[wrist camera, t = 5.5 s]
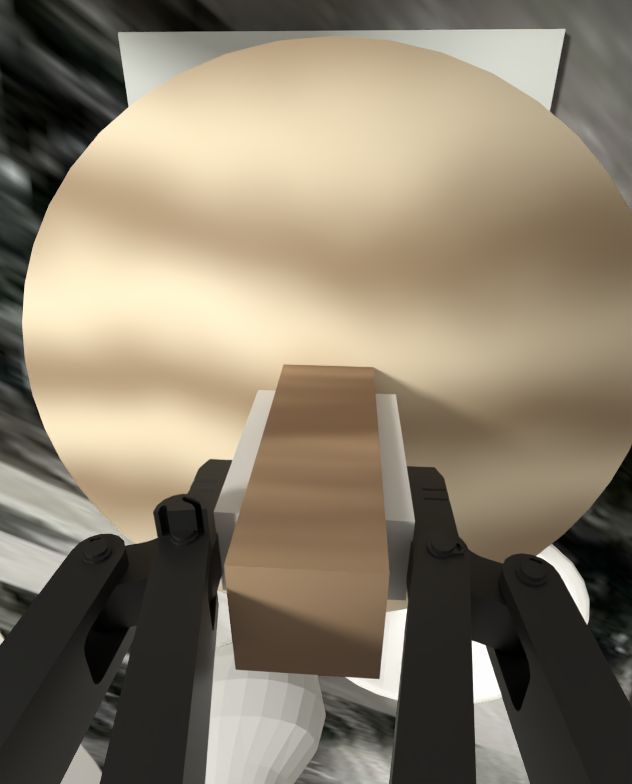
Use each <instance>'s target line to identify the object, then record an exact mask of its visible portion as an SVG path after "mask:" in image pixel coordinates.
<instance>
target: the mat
mask: <svg viewBox="0 0 632 784" xmlns="http://www.w3.org/2000/svg"><path fill="white" fill-rule="evenodd" d="M564 34H565V29H499V30H360V31H222V32H118V38H119V44H120V51H121V58H122V65H123V71H124V78H125V85H126V91H127V98H128V105H129V107H130V106H131V105H132V104H133V103H134V102H135V101H136V100H138V99H140V98H141V97H143V96H144V95H146V94H148V93H149V92H151V91H152V90H154V89H155V88H157V87H159V86H160V85H162V84H163V83H165V82H167V81H168V80H170V79H171V78H173V77H175V76H176V75H178V74H180V73H182V72H184V71H187V70H189V69H191V68H194V67H196V66H198V65H201V64H203V63H205V62H208V61H210V60H212V59H215V58H217V57H220V56H222V55H224V54H227V53H231V52H235V51H239V50H243V49H247V48H251V47H255V46H259V45H263V44H267V43H271V42H275V41H279V40H291V39H302V38H314V37H326V36H342V37H356V38H370V39H384V40H391V41H396V42H400V43H404V44H408V45H413V46H417V47H421V48H425V49H430V50H434V51H438V52H442V53H445V54H447V55H450V56H452V57H454V58H457V59H459V60H462V61H464V62H467V63H469V64H471V65H474V66H476V67H479V68H481V69H484V70H486V71H488V72H491V73H493V74H495V75H496V76H498V77H500V78H501V79H503V80H504V81H506V82H508V83H509V84H511V85H513V86H514V87H516V88H517V89H519V90H521V91H522V92H524V93H526V94H527V95H529V96H530V97H532V98H534V99H535V100H537V101H538V102H540V103H541V104H542V105H543V106H544V107H545V108H546V109H548V110H549V111H550V108H551V102H552V97H553V92H554V87H555V81H556V76H557V71H558V66H559V60H560V55H561V50H562V45H563V39H564Z"/></svg>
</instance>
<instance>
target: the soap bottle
mask: <svg viewBox="0 0 632 784" xmlns="http://www.w3.org/2000/svg"><path fill="white" fill-rule="evenodd" d="M325 717H326V714H325V709H324V704H323V698H322V693H321V688H320V683H319V678H318V675H308V674H292V673H277V672H262V671H247V670H236V669H235V660H234V651H233V643H231V644H228V645H225V646H222V647H220V648H219V649H217V650H215V658H214V671H213V685H212V698H211V711H210V725H209V738H208V751H207V765H206V778H205V784H294V783H295V781H296V780H297V778H298V777H299V776H300V774H301V773H302V771H303V770H304V768H305V767H306V766H307V764H308V763H309V761H310V760H311V759H312V757H313V756H314V754H315V752H316V751H317V748H318V744H319V740H320V736H321V732H322V728H323V725H324V721H325Z"/></svg>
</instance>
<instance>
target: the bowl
mask: <svg viewBox="0 0 632 784" xmlns="http://www.w3.org/2000/svg"><path fill="white" fill-rule="evenodd" d="M537 557H539V558H542V559H544V560H545V561H547V562H548V563H550V564H551V565H552V566H554V568H555V569H556V570H557V571H558V573H559V574H560V576H561V578H562V579H563V581H564V583H565V585H566V587H567V589H568V591H569V592H570V594H571V596H572V598H573V600H574V602H575V603H576V605H577V607H578V609H579V611H580V613H581V615H582V616H583V618H584V620H585V622H586V624H588V621H589V601H590V599H589V596H588V593H587V589H586V586H585V582H584V580H583V578H582V577H581V575H580V574H579V572H578V571H577V569H576V567H575V566H574V564H573V563H572V562H571V561H570V560H569V559H568V558H567V557H566V556H565V555H564V554H562V553H561V552H560V551H559V550H558V549H557V548H556V547H555V546H554V545H553V544H551V545H550V546H548V547H547V548H546V549H544V550H543V551H542V552H541V553H539V554H538V555H537ZM406 614H407V609H403V610H397V611H391V612H386V617H385V628H384V638H383V649H382V659H381V669H380V679H369V678H354V677H346V678H347V679H349V680H350V681H352V682H353V683H355V684H356V685H358V686H360V687H362V688H364V689H367V690H369V691H371V692H373V693H375V694H378V695H381V696H384V697H388V698H391V699H394V700H398V693H399V683H400V673H401V663H402V653H403V644H404V631H405V623H406ZM472 662H473V695H474V704H475V703H480V702H486V701H491V700H496V699H499V698H502V695H501V692H500V689H499V686H498V683H497V680H496V677H495V674H494V671H493V667H492V664H491V661H490V658H489V655H488V652H487V649H486V645H483V644H480V643H477V642H475V641H472Z"/></svg>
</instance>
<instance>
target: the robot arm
mask: <svg viewBox="0 0 632 784" xmlns="http://www.w3.org/2000/svg"><path fill="white" fill-rule="evenodd" d="M275 391H276V390H258V391H257V394H256V397H255V400H254V402H253V405H252V408H251V411H250V413H249V416H248V419H247V422H246V424H245V427H244V430H243V433H242V435H241V438H240V441H239V444H238V446H237V449H236V452H235V455H234V457H233V460H221V459H209V460H208V461H207V462H206V463H205V464H203V465H202V466H201V467H200V468H199V469H198V471H197V474H196V476H195V478H194V482H192V485H191V487H190V491H188V493H187V494H179V495H173V496H171V497H169V498H166V499H164V500H163V501H162V502H160V503H159V504H158V505H157V506H156V508H155V509H154V511H153V515H154V520H155V526H156V531H157V537H158V538H156V539H153V540H151V541H147V542H143V543H138V544H133V545H127V546H125V544H124V541H123V540H122V539H121V538H120V537H119V536H116V535H113V534H99V535H96V536H92V537H89V538H87V539H85V540H84V541H82V542H80V543H79V544H78V545H77V546H76V547H75V548H74V549H73V550H72V551H71V552H70V554H69V555H68V556H67V558H66V559H65V560H64V561H63V563H62V564H61V565H60V567H59V568H58V569H57V571H56V572H55V573H54V575H53V576H52V577H51V579H50V580H49V581H48V583H47V584H46V585H45V587H44V588H43V589H42V591H41V592H40V593H39V595H38V596H37V597H36V599H35V600H34V601H33V602H32V604H31V605H30V606H29V608H28V609H27V610H26V612H25V613H24V614H23V616H22V617H21V618H20V620H19V621H18V622H17V624H16V625H15V626H14V628H13V629H12V630H11V632H10V633H9V634H8V636H7V637H6V638H5V640H4V641H3V643H2V644H1V645H0V784H60V783H61V781H62V779H63V777H64V775H65V773H66V771H67V769H68V767H69V765H70V763H71V761H72V759H73V757H74V755H75V753H76V752H77V750H78V747H79V746H80V744H81V742H82V740H83V738H84V736H85V734H86V732H87V730H88V728H89V726H90V724H91V722H92V720H93V718H94V716H95V714H96V712H97V710H98V708H99V706H100V704H101V702H102V700H103V698H104V696H105V694H106V692H107V690H108V688H109V686H110V684H111V682H112V680H113V678H114V676H115V674H116V672H117V671H118V669H119V667H120V665H121V663H122V661H123V659H124V657H125V655H126V653H127V651H128V649H129V647H130V645H131V643H132V641H133V644H132V649H131V653H130V657H129V661H128V666H127V670H126V674H125V678H124V683H123V687H122V691H121V695H120V700H119V704H118V708H117V712H116V717H115V721H114V725H113V729H112V734H111V738H110V742H109V747H108V751H107V755H106V759H105V764H104V768H103V772H102V776H101V781H100V784H205V778H206V765H207V751H208V738H209V725H210V711H211V698H212V685H213V671H214V658H215V645H216V631H217V618H218V605H219V604H218V596H217V590H218V587H219V583H220V580H222V588H223V590H227V588H226V579H225V570H224V563H225V560H226V557H227V553H228V550H229V547H230V543H231V540H232V536H233V533H234V530H235V526H236V523H237V520H238V516H239V513H240V509H241V506H242V503H243V499H244V496H245V493H246V489H247V486H248V482H249V479H250V476H251V472H252V469H253V466H254V462H255V459H256V455H257V452H258V449H259V445H260V442H261V439H262V435H263V432H264V428H265V425H266V422H267V418H268V415H269V412H270V408H271V405H272V401H273V398H274V395H275ZM376 406H377V419H378V431H379V444H380V457H381V470H382V483H383V495H384V508H385V521H386V534H387V547H388V559H389V572H390V576H389V586H388V597H387V599H388V600H405V601H406V593H407V595H408V606H407V614H406V623H405V631H404V644H403V653H402V663H401V673H400V683H399V693H398V702H397V712H396V722H395V732H394V741H393V751H392V761H391V771H390V780H389V784H476V763H475V729H474V695H473V662H472V641H475V642H477V643H480V644H483V645H486V649H487V652H488V655H489V658H490V661H491V664H492V667H493V671H494V674H495V677H496V680H497V683H498V686H499V689H500V692H501V695H502V698H503V701H504V704H505V707H506V710H507V714H508V717H509V720H510V723H511V726H512V729H513V732H514V735H515V738H516V741H517V744H518V747H519V750H520V753H521V757H522V760H523V763H524V766H525V769H526V772H527V775H528V778H529V781H530V784H632V707H631V705H630V703H629V701H628V699H627V697H626V696H625V694H624V692H623V690H622V688H621V686H620V685H619V683H618V681H617V679H616V677H615V675H614V674H613V672H612V670H611V668H610V666H609V664H608V662H607V661H606V659H605V657H604V655H603V653H602V651H601V650H600V648H599V646H598V644H597V642H596V640H595V638H594V637H593V635H592V633H591V631H590V629H589V627H588V626H587V624H586V622H585V620H584V618H583V616H582V615H581V613H580V611H579V609H578V607H577V605H576V603H575V602H574V600H573V598H572V596H571V594H570V592H569V591H568V589H567V587H566V585H565V583H564V581H563V579H562V578H561V576H560V574H559V573H558V571H557V570H556V569H555V568H554V566H552V565H551V564H550V563H548V562H547V561H545V560H544V559H542V558H539V557H537V556H534V555H531V554H523V553H520V554H514V555H511V556H509V557H508V558H506V559H505V561H504V563H500V562H496V561H493V560H490V559H486V558H484V557H481V556H479V555H477V554H475V553H473V552H472V551H470V550H469V549H468V547H467V545H466V543H465V542H464V541H463V540H462V539H461V538H460V537H459V535H458V531H457V527H456V523H455V519H454V515H453V511H452V507H451V503H450V501H449V495H448V492H447V488H446V484H445V480H444V477H443V476H442V475H441V474H440V473H439V472H438V470H437V469H436V468H435V467H417V466H407V465H406V459H405V452H404V445H403V439H402V432H401V426H400V419H399V412H398V406H397V399H396V394H376ZM133 639H134V640H133Z"/></svg>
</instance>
